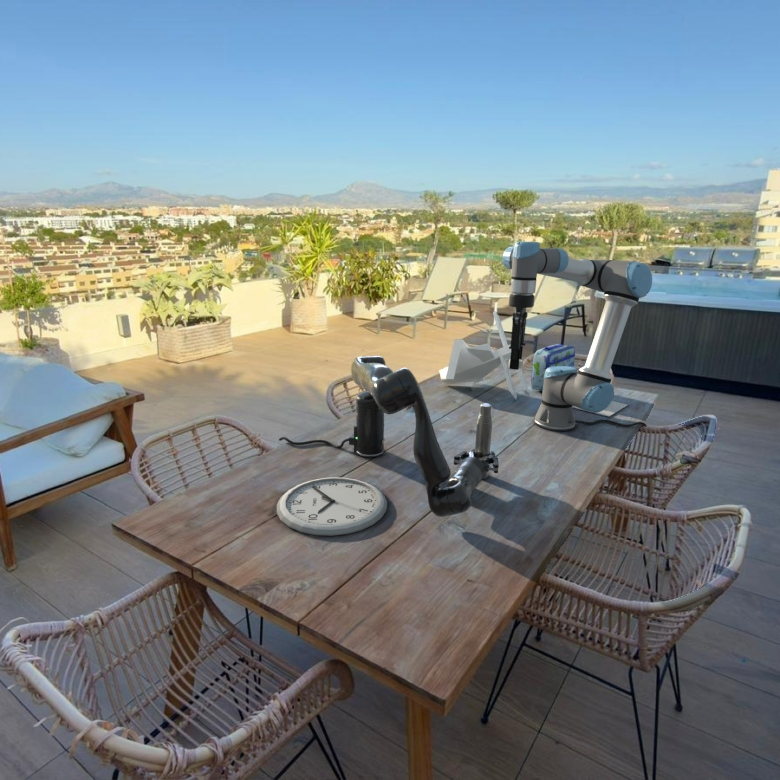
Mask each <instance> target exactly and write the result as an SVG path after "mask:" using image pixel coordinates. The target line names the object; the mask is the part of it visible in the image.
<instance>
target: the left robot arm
mask: <svg viewBox="0 0 780 780" xmlns="http://www.w3.org/2000/svg"><path fill="white" fill-rule="evenodd" d="M350 373H351V378H352V380H353V382H354V383H355V385H357V386H360V387H362V388H363V390H365V391H363V392H360V393H359V394H357V395H356V397H355V403H356V404H355V417H356V418H355V425H354V426H353V434H351V435H349V437H348V438H345V439H343V440H342V441H341V443H340V444H339V445H335V444H333V443H331V442H330V441H327V440H325V439H313V440H306V441H298V442H297V441H293V440H291V439H289V438H287V436H281V437H280V438H279V439H278V441H279V442H280V441H283V440H285V442H287V443H288V444H291V445H294V446H303V445H310V444H315V443H321V444H322V443H323V444H326V445H328V446H330V447H333V448H336V449H342V448H343V446H344V444H345V443H347V442H348V445H350V446H353V453H354V454H356V455H357V456H360V457H362V458H367V459H368V458H377V457H378V458H379V457H381V456H382V455H383V454H384V452H385V449H384V447H385V446H384V445H385V441H386V440H385V414H386V415H394V414H397V413H399V412H400V411H403V410H404V409H407V408H408V407H409V406H411V405H413V406H412V408H413V411H414V415H415V417H414V418H415V429H414V430H415V431H414V438H413V457H414V461H415V464H416V466H417V467H418V469H419V471H420V474H421V476H422V478H423V481H424V484H425V489H426V495H427V501H428V506H429V510H430V511H431V512H432V513H433V515H435V516H436V517H439V518H444V517H449V516H453V515H459V514H463V513H465V512H467V511H468V510H469V509H470V508H471V504H472V493H473V492H474V491H475V489H476V488H477V487H478V486H479V485H480V483H481V481H482V480H483V479H482V478H483V477H484V475H485V473H486V472H488V473H489V471H492V472H493V473H494V474H498V473H499V465H500V463H499V457H498V456H496V452H495V451H493V450H490V454H489V456H484V457H483V458H476V457H475V448H472V449H471V450H470V451H469V452H468V451H466V450H463V451H461V452H460V453H457V454H456V455H454V456H453V465H454V466H457V467H456V468H455V469H454V471H453V473H452V471H451V468H450V466H449V464H448V462H447V459H446V457H445V455H444V453H443V450H442V449H441V446H440V443H439V441H438V438H437V436H436V432H435V429H434V426H433V423H432V420H431V419H432V418H431V416H430V413H429V410H428V407H427V404H426V400H425V398H424V395H423V392H422V389H421V387H420V385H419V381H418V380H417V378H416V377H415V375H414V373H413V372H412V371H411V370H410V369H409V368H407V367H401V368H399V369H397V370H395V371H393V370H392V369H391V367H389V366H387V365H386V360H385V358H384V357H383V356H381V355H369V356H366V355H365V356H357V357H355V358H354V359H353V361H352V362H351V367H350ZM446 481H447V482H446ZM444 482H446V484H445V487H442V488H441V486H440V485H441V484H443V483H444Z"/></svg>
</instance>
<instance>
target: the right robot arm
mask: <svg viewBox="0 0 780 780" xmlns="http://www.w3.org/2000/svg"><path fill="white" fill-rule="evenodd" d="M501 260H502V265H503V266H504V267H505V268H506V269H508V270H511V275H510V281H509V282H508V285H509V286H510V288H509V292H510V294H509V295H508V296H509V297H508V306H509V307H511V308H515V311H514V312H513V313H512V318H511V319H512V325H511V327H512V328H511V336H510V344H511V345H510V344H509V345H510V347H509V349H511V358H510V367H509V370H516V371H517V370H518V369H519V359H521V360H523V350H524V347H525V346H526V343H525V341H526V340H525V338H526V337H525V336H526V328H527V327H526V326H527V319H528V315H529V314H528V311H527V309H530V308H533V307H534V305H535V295H534V294H535V293H536V289H537V277H538V275H542V276H545V277H546V276H547V277H550V278H551V277H552V278H556V279H561V280H564V281H565V280H566V281H571V282H573V283H574V284H575V285H577V286H580V287H584V288H587V289H591V290H594V291H597V292H600V293H603V294H602V295H603V298H604V301H605V304H604V306H603V309H602V313H601V315H600V319H599V321H598V323H597V324H598V325H597V328H596V330H595V334H594V337H593V340H592V342H591V345H590V348H589V352H588V354H587V357H586V360H585V363H584V366H582V367H580V368H579V369H577V367H575V366H574V367H569V366H555V367H549V368H547V369H546V370H545V374H544V378H543V379H544V380H543V390H542V391H541V402H540V405H539V407H538V410H537V411H536V413H535V417H534V424H535V425H536V426H537V427H539V428H542V429H544V430H549V431H556V432H567V431H572V430H574V429H575V428H576V424H582V425H588V426H589V425H596V424H597V423H608V424H613V425H615V426H618V427H619V426H620V427H625V428H630V427H634V426H637V425H638V426H639V425H642V426H643V427H644V428H645V427H648V425H647V424H646V423H645V422H643V421H636V422H633V423H628V424H627V423H621V422H617V421H615V420H609V419H597V420H594V421H584V420H578V419H576V418H575V417H576V416H575V413H574V407H578V408H581V409H583V410H582V411H584V410H585V411H584V412H588V411H590V412H589V413H592V412H593V414H596V413H598V412H601V411H603V410H604V409H606V408H607V407H608V406H609V404H610V403H611V401H613V399H614V396H615V387H614V386H613V385H612V384H611V383H612V380H613V378H612V376H611V375H610V371H611V369H612V365H613V362H614V360H615V356H616V353H617V350H618V348H619V344H620V341H621V339H622V336H623V333H624V330H625V327H626V324H627V321H628V319H629V315H630V312H631V309H632V308H633V307H634V306H637V305H638V303H639V301H640V299H642V298H645V297H646V296H648V294H649V293H650V291H651V289H652V285H653V274H652V270H651V268H650V266H649V265H648V264H646V263H644V262H640V261H635V260H614V259H589V258H581V259H577V258H571V257H569V254H568V252H567V251H566V250H565V249H563V248H558V247H552V248H551V247H549V248H548V247H541V245H540V243H539V242H538V241H516V242H515V243H514V246H509V247H507V248H506V249H505V250H504V251H503V253H502V258H501Z"/></svg>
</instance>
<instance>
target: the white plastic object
mask: <svg viewBox="0 0 780 780" xmlns="http://www.w3.org/2000/svg"><path fill="white" fill-rule="evenodd" d="M492 315H493V319H494V321H495V324H496V325H495V326H496V328H497V332H498V335H499V338H500V342H501V345H502V347H500V348H498V349H496V350H495V349H493V348H492V347H491V346H490V344H489V343H488V342H487V343H483V344H479V345H473V346H469V345H468V343H466V342H465V340H464V339H463V338H460V339H458V338H454V340H453V344H452V349H451V353H450V357H449V362H448V366H446V367H444V368H442V369H440V370H439V371H438V372H439V376H440V381H442V383H443V384H444V385H445V386H449V385H458V384H467V383H468V384H469V383H473V384H477V383H480V382H482V381H484V378H485V377H486V376H487V375H489V374H490V373H492V372H494V371H495V370H496V369H497V368H499V367H500V366H502V370H503V373H504V376H505V380H506V383H507V386H508V390H509V393H510V394H511V395H512V397H513V398H514V399H515V400H517V392H516V391H517V390H516V388H515V385H514V381H513V378H512V375H511V371H510V367H508V362H509V359H510V358H511V349H509V347H510V345H511V343H510V344H508V341H507V337H506V334H505V331H504V328H503V325H502V321H501V318H500V315H499V314H498V312H497V311H496V310H495V311H492ZM522 368H523V367H522ZM522 368H519V369H518V370H516V372H517V376H518V380H519V382H520V385H521V389H522V391H523V393H524V395H525V396H526V397H528V396H531V395H530V390H529V388H528V387H529V386H528V384H527V381H526V378H525V375H524V371H523V369H522Z"/></svg>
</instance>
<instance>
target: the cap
mask: <svg viewBox="0 0 780 780" xmlns="http://www.w3.org/2000/svg"><path fill="white" fill-rule="evenodd" d="M507 365H508V368H510V359H509V360H508V361H507ZM523 365H524V360H523V359H522V360H521V359H519V368H523Z"/></svg>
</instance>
